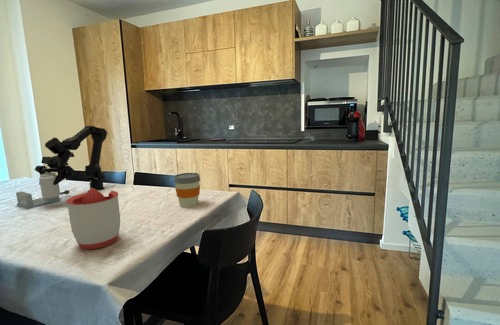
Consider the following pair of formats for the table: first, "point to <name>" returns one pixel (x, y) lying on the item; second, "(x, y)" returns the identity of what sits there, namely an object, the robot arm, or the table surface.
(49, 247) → the table surface
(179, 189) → the reusable coffee cup
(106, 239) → the citrus juicer
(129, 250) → the table surface
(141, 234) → the table surface
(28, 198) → the vise
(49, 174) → the can
